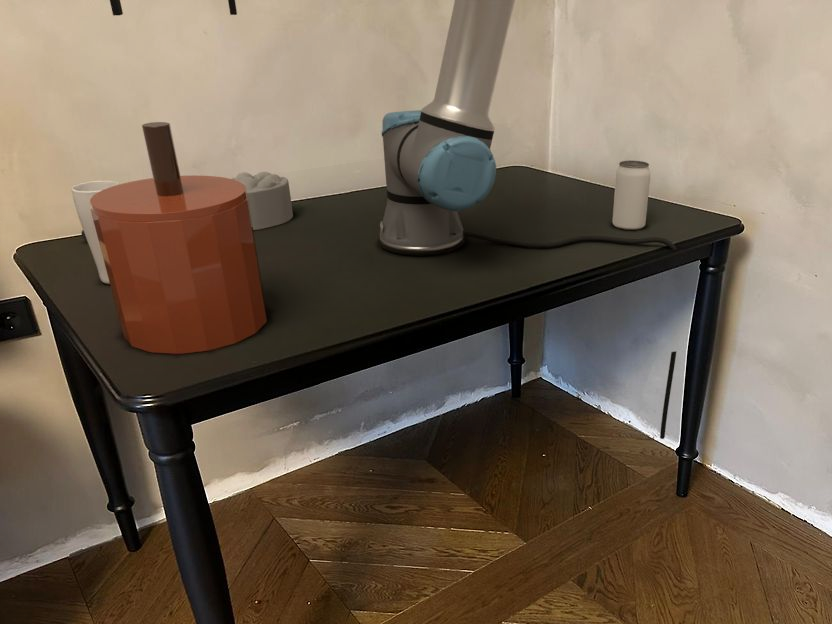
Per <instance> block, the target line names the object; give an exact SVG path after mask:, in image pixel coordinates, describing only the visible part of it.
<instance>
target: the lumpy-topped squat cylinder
mask: <svg viewBox="0 0 832 624" xmlns="http://www.w3.org/2000/svg"><path fill="white" fill-rule="evenodd" d="M231 179H233V180H236V181H239V182H241V183H242V184H244V185H245V187H246V192H247V194H248V200H249V207H250V213H251V219H252V225H253V231H258V230H262V229H267V228H272V227H274V226H279V225H281V224H282V225H283V224H285V223H287V222H289V221H291V220H292V219H293V217H294V213H293V205H292V196H291V190H290V183H289V179H288V178H287V177H284V176H279V175H278V174H276V173H271V172H268V171H261V172H259V173H257V174H256V175H252V174H251V173H248V172H239V173H238V174H237V175H236V177H232V178H231Z"/></svg>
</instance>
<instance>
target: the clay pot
mask: <svg viewBox="0 0 832 624" xmlns="http://www.w3.org/2000/svg"><path fill="white" fill-rule="evenodd" d="M141 129H142V133H143V137H144V142H145V146H146V151H147V156H148V160H149V165H150V169H151V174H152V178H143V179H137V180H132V181H128V182H124V183H119V185H116V186H113V187H110V188H107V189H104V190H102V191H100V192H98V193H96V194H95V195H93V196H92V198H91V199H90V204H91V214H92V218H93V221H94V225H95V229H96V233H97V237H98V240H99V244H100V248H101V252H102V255H103V259H104V263H105V267H106V271H107V274H108V278H109V282H110V284H109V286H110V290H111V293H112V297H113V300H114V304H115V309H116V312H117V316H118V319H119V324H120V327H121V331H122V335H123V338H124V339H125V340H126V341H127V342H128V344H129V345H130V347H133V348H135V349H139V350H141V351H145V352H147V353H152V354H153V353H154V354H168V355H169V354H170V355H183V354H193V353H202V352H209V351H213V350H217V349H219V348H223V347H227V346H231V345H235V344H237V343H239V342H241V341H244V340H246V339H248V338H249V337H251V336H254V335H255V334H257V333H258V332H259V331H260V329H261V328H262V327H264V325H265V324H266V323H267V322H268V320H267V318H268V317H267V307H266V302H265V301H266V300H265V294H264V288H263V283H262V276H261V269H260V265H259V264H260V263H259V257H258V250H257V245H256V238H255V232H254V230H253V225H252V219H251V213H250V207H249V200H248V194H247V192H246V187H245V185H244V184H242V183H241V182H239V181H236V180H233V179H232V178H228V177H223V176H216V175H215V176H213V175H197V174H196V175H195V174H194V175H193V174H192V175H181V172H180V167H179V162H178V156H177V152H176V147H175V142H174V138H173V133H172V128H171V124H170V122H165V121H153V122H147V123H143V124H141Z"/></svg>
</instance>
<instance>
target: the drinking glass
mask: <svg viewBox="0 0 832 624" xmlns="http://www.w3.org/2000/svg"><path fill="white" fill-rule="evenodd" d="M119 184H120V182H118V181H116V180H115V181H114V180H92V181H86V182H81V183H78V184H75V185H73V186H72V187H71V188H70V190H71V194H72V198H73V203H74V207H75V210H76V214H77V217H78V219H79V223H80V226H81V228H82V230H83V231H84V234H85V236H86V239H87V241H86V242H87V245H88V247H89V249H90V252H91V255H92V258H93V261H94V264H95V266H96V269H97V273H98V276H99V279H100V281H101V282H102V283H104V284H106V285H110V282H109V278H108V274H107V271H106V267H105V263H104V259H103V255H102V252H101V248H100V244H99V240H98V237H97V233H96V229H95V225H94V221H93V218H92V214H91V204H90V199H91V198H92V196H93V195H95V194H96V193H98V192H100V191H102V190H104V189H107V188H110V187H113V186H116V185H119Z"/></svg>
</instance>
